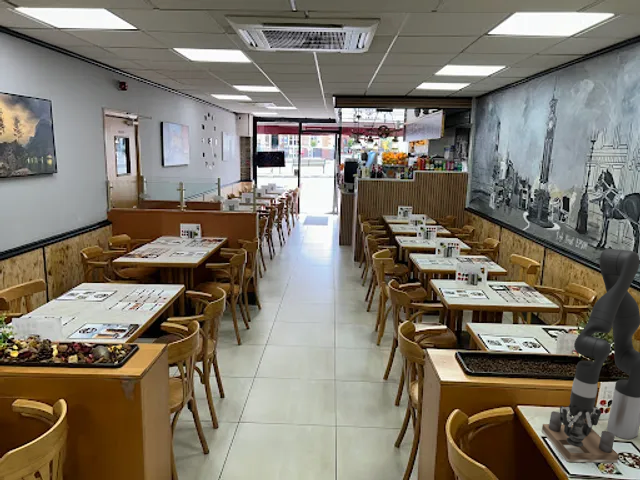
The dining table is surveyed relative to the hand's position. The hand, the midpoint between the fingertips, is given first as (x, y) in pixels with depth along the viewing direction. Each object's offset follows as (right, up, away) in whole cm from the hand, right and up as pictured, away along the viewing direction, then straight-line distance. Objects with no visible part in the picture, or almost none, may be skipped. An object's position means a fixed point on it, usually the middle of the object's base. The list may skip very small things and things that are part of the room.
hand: (576, 434), depth 172 cm
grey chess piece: (0, -3, +1) cm, 3 cm away
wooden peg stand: (+4, -7, +6) cm, 10 cm away
